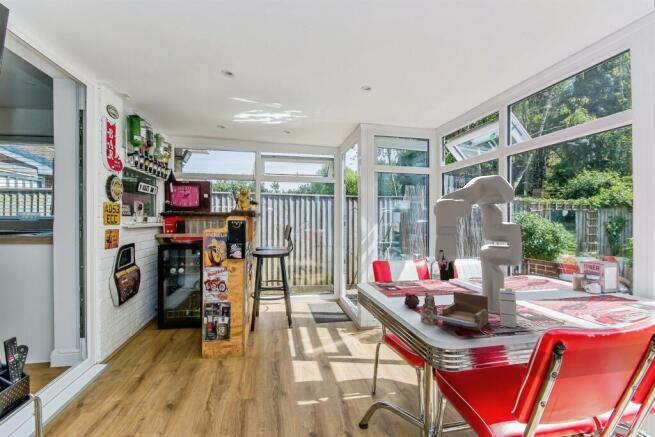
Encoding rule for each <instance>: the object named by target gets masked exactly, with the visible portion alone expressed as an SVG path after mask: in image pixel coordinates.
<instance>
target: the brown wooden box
mask: <svg viewBox="0 0 655 437" xmlns="http://www.w3.org/2000/svg"><path fill="white" fill-rule="evenodd" d="M441 310H442V313H441V314H442V316H445V317H449V318H454V319H459V320H463V321H468V322H473V323H477V324H478V325H477V327H469V326H464V325H460V324H459V326H456V325H452V324H449V325H450V326H455V327H458V328H463V329H467V328H468V329H467V330H471V329H473V330H472V331H476V330H477V331H476V332H479V331H480V330H481V329H482V328H483V327H484V326H486V325H487V324H488V323H489V312H488V296H483V295H482V294H475V293H468V292H462V291H453V302H451V303H450V304H449V305H447V306H444V307H443V308H442V309H441ZM444 324H445V325H448V324H447V323H444ZM478 330H479V331H478Z"/></svg>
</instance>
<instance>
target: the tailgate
mask: <svg viewBox="0 0 655 437" xmlns="http://www.w3.org/2000/svg"><path fill="white" fill-rule="evenodd" d="M437 315H438V314H437ZM437 315H432V318H434V319H438V321H439V320H440V321H442V324H445V323H447V324H446V325H450V324H452V325H451V326H454V325H456V326H455V327H458V326H459V324H460V325H464V326H469V327H477V325H478V324H477V323H473V322H468V321H463V320H459V319H454V318H449V317H445V316H443V315H438V316H437Z"/></svg>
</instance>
